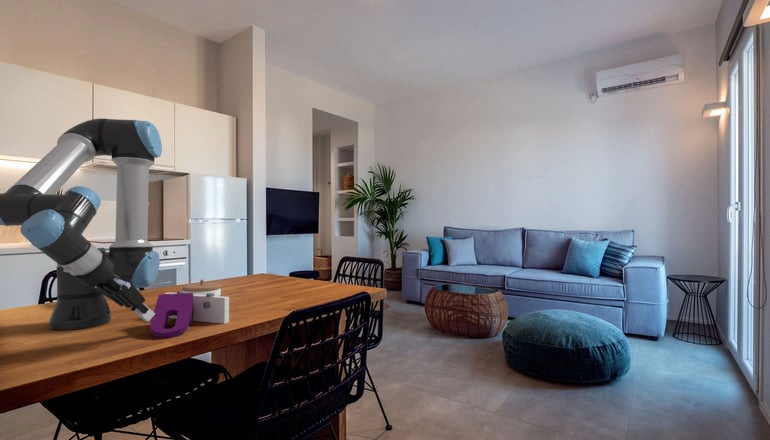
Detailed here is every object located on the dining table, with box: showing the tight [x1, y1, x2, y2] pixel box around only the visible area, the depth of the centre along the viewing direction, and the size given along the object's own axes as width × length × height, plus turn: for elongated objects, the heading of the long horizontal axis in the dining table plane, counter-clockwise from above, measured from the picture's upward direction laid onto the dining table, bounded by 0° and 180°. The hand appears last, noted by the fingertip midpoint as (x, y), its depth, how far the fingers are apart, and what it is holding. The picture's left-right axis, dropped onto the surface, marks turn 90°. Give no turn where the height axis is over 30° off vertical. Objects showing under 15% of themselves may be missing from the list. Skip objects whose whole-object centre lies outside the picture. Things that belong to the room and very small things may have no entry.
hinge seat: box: [163, 290, 230, 325], centre depth 123 cm, size 25×3×9 cm, turn 71°
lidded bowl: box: [181, 279, 222, 296], centre depth 136 cm, size 13×13×11 cm
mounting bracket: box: [149, 293, 194, 339], centre depth 112 cm, size 9×8×18 cm
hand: (150, 317), depth 108 cm, fingers closed
